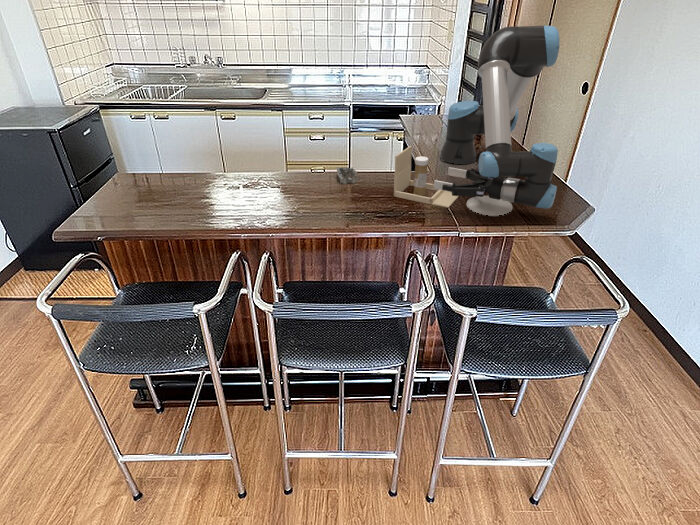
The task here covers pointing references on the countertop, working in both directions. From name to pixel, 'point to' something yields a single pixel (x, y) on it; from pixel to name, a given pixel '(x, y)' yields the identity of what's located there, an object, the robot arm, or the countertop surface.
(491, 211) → the stone mat
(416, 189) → the spice jar
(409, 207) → the countertop surface
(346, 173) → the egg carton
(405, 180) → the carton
